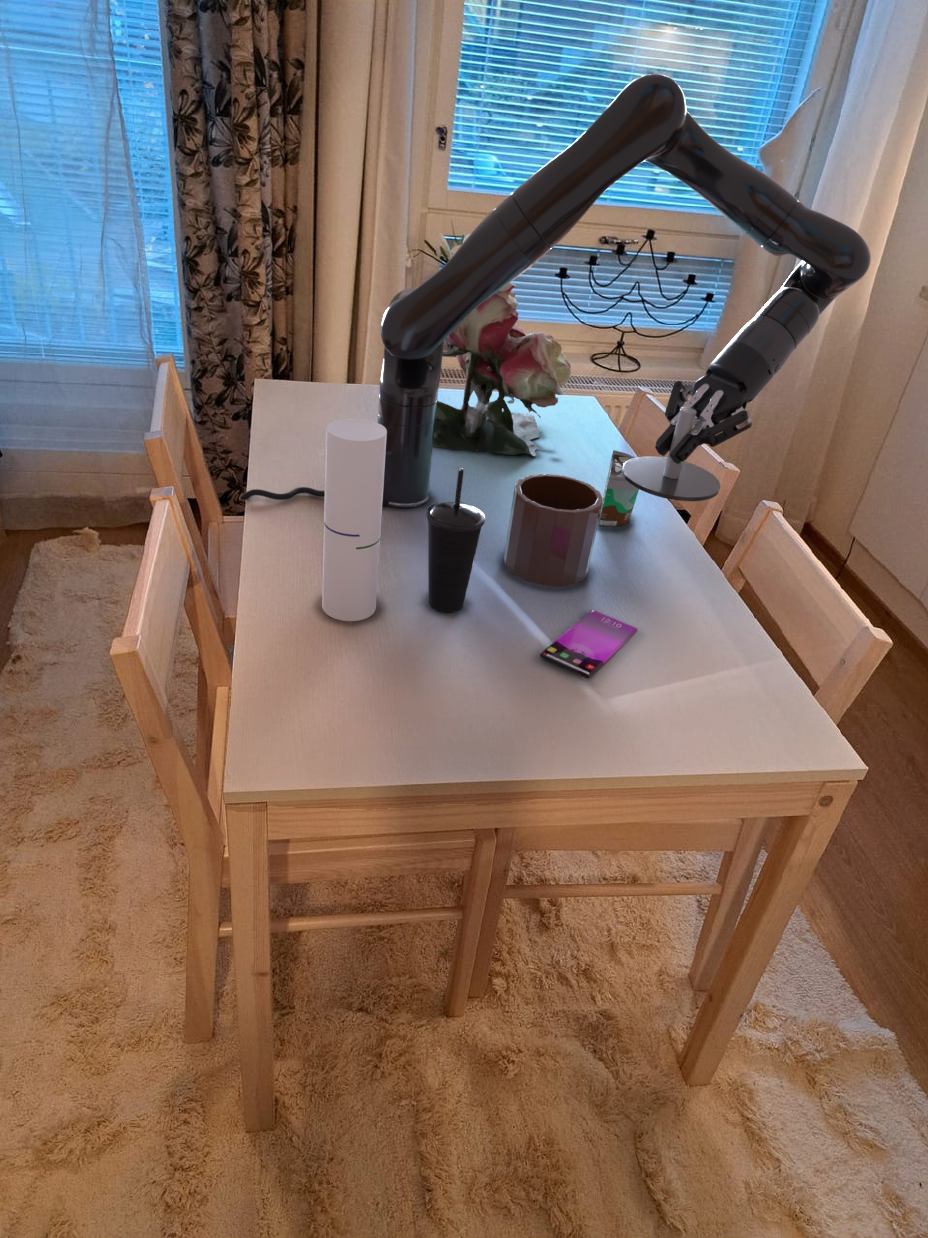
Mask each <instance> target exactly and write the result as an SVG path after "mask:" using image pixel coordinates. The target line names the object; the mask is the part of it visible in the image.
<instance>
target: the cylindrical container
mask: <svg viewBox="0 0 928 1238" xmlns="http://www.w3.org/2000/svg"><path fill="white" fill-rule="evenodd" d="M386 437H387V430H386V428H385V427H384V426H382V425H381V424H379V423H378V422H376V421H374V420H370V419H365V418H356V417H355V418H354V417H350V418H349V417H346V418H339V419H335V420H332V421H330V422H329V423H327V424H326V427H325V462H324V463H325V466H324V468H325V470H324V490H325V497H324V505H323V506H324V507H323V508H324V509H323V511H324V512H323V513H324V514H323V547H322V548H323V552H322V591H321V592H322V593H321V608H322V611H323V612H324V613H325V615H327V616H329V617H330V618H332V619H335V620H338V621H342V622H359V621H363V620H365V619H369V617H371V616H373V614H374V613H375V611H376V608H377V594H378V577H379V565H380V564H379V563H380V561H379V560H380V545H381V544H380V543H381V531H382V515H383V506H382V501H383V485H384V469H385V453H386Z"/></svg>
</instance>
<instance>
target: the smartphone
mask: <svg viewBox="0 0 928 1238" xmlns="http://www.w3.org/2000/svg"><path fill="white" fill-rule="evenodd" d="M637 631H638V629H637V627H635V626H633V625H630V624H628V623H626V622H623V621H620V620H618V619H615V618H613V617H611V616H609V615H606V614H604V613H602V612H600V611H597V610H594V609H592V610H590V611H589V612H587V613H586V614H585V615H584V616H583V617H581V619H579V620H578V621H577V622H576V623H575V624H574V625H572V626H571V627H570V628H568V629H567V630H566V631H565V632H564V633H563V634H562V635H560V636H559V637H558V638H557V639H555V640H554V641H553V642H552V643H550V645H549V646H547V647H546V648H545V649H544V650H543V651H541V652H540V653H539V656H540V658H542V659H545V660H547V661H549V662H550V663H553V664H555V665H557V666H559V667H561V668H564V669H566V670H568V671H570V672H573V673H574V674H577V675H579V676H582V677H584V678H586V679H589V678H591V677H592V676H593V675H594V674H595V673H596V672H597V671H598V670H600V668H601V667H602V666H603V665H605V664H606V662H607V661H608V660H609V659H611V658H612V657H613V656H614V655H615V654H616V653H617V652H618V651H619V650H620V649H621V648H622V647H623V646H624V645H625V644H626V643H627V642H628V641H630V639H631V638H632V637H633V636H635V634H636V633H637Z"/></svg>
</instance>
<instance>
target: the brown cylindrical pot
mask: <svg viewBox="0 0 928 1238" xmlns="http://www.w3.org/2000/svg"><path fill="white" fill-rule="evenodd" d="M602 503H603V495H602V494H601V492H600V491H599V490H598V489H597V488H595V486H593V485H592V484H590V483H587V482H585V481H584V480H581V479H578V478H575V477H570V476H565V475H561V474H553V473H552V474H551V473H540V474H530V475H528V476H525V477H522V478H520V479H518V481H517V482H516V483H515V484H514V487H513V495H512V501H511V508H510V512H509V513H510V514H509V520H508V526H507V534H506V540H505V547H504V552H503V562H504V566H505V567H506V569H507V570H509V572H510V573H512V575H514V576H516V577H518V578H520V579H522V580H524V581H525V582H527V583H532V584H535V585H540V586H543V587H559V588H560V587H561V588H562V587H566V586H567V587H568V586H573V585H576V584H578V583H580V582H581V581H583V580H585V579H586V576H587V574H588V572H589V568H590V563H591V559H592V554H593V550H594V544H595V540H596V535H597V530H598V526H599V521H600V516H601V514H600V513H601V508H602Z"/></svg>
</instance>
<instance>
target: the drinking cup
mask: <svg viewBox="0 0 928 1238" xmlns="http://www.w3.org/2000/svg"><path fill="white" fill-rule="evenodd" d="M464 471H465V469H464V468H462V467H459V468H458V472H457V479H456V487H455V488H456V489H455V497H454V501H442V502H438V503H434V504H432V505H430V506H429V507H428V508H427V509H426V516H425V517H426V519H427V525H428V526H427V531H428V532H427V534H428V535H427V538H428V540H427V544H428V546H427V547H428V549H427V552H428V553H427V554H428V555H427V557H428V558H427V559H428V561H427V563H428V567H427V568H428V571H427V573H428V574H427V575H428V578H427V579H428V581H427V583H428V584H427V585H428V586H427V588H428V591H427V592H428V593H427V594H428V596H427V597H428V599H427V600H428V601H427V602H428V605H429V606H430V608H431V609H433V610H435V611H437V612H440V613H447V614H449V613H450V614H451V613H456V612H459V611H460V610H461V609H462V608H463V607H464V603H465V599H466V595H467V591H468V586H469V581H470V578H471V573H472V570H473V565H474V561H475V557H476V553H477V548H478V544H479V539H480V535H481V532H482V528H483V527H484V525H485V523H486V515H485V514H484V512H483V511H482V510H480V509H479V508H478V507H476V506H473V505H472V504H469V503H465V502H461V497H462V491H463V489H462V488H463V481H464V474H465V473H464Z"/></svg>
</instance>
